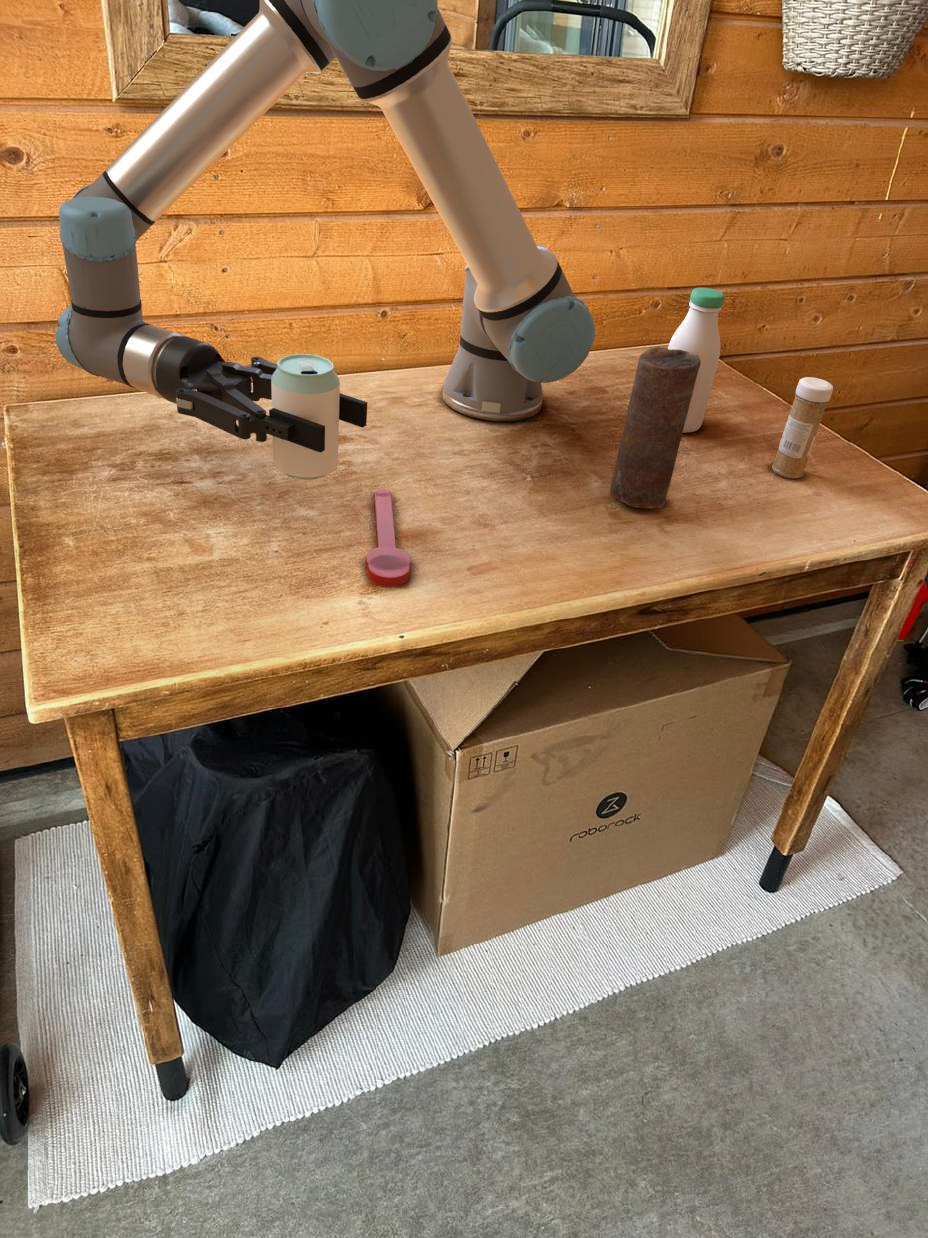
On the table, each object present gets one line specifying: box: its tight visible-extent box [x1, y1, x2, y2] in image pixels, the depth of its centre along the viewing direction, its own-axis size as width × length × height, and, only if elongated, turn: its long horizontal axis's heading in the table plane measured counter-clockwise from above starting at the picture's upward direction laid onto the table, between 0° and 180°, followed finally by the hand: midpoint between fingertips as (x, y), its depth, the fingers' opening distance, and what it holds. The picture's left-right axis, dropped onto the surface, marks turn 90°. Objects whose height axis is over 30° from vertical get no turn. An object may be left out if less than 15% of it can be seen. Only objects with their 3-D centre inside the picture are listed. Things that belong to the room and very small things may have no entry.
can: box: [271, 353, 341, 481], centre depth 100 cm, size 7×7×12 cm
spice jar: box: [771, 376, 834, 479], centre depth 129 cm, size 5×5×13 cm
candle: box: [609, 346, 701, 510], centre depth 115 cm, size 8×7×20 cm
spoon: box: [364, 488, 412, 588], centre depth 108 cm, size 20×5×1 cm, turn 6°
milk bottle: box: [667, 287, 725, 433], centre depth 137 cm, size 8×8×20 cm
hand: (344, 426), depth 98 cm, fingers closed on can, 7 cm apart
